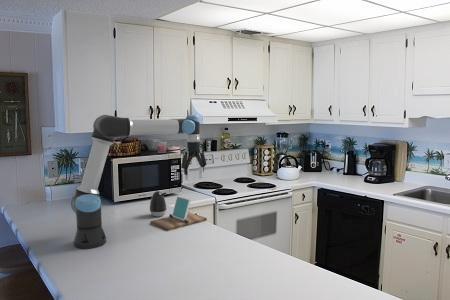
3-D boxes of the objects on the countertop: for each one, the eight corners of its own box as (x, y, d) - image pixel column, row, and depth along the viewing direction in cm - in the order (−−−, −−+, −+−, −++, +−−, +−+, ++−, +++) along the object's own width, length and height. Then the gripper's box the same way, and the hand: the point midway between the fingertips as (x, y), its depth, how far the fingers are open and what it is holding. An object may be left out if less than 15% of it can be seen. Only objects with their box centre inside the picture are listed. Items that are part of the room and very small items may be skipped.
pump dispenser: (165, 217, 238) (164, 193, 236) (148, 217, 238) (147, 193, 236) (168, 213, 248) (167, 189, 246) (151, 213, 248) (150, 189, 246)
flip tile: (185, 220, 224) (184, 220, 224) (173, 216, 233) (171, 215, 232) (191, 199, 226) (189, 199, 225) (178, 196, 235) (177, 196, 234)
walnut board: (168, 230, 213) (167, 225, 213) (150, 223, 226) (150, 218, 226) (206, 220, 231) (206, 215, 231) (188, 214, 244) (188, 209, 244)
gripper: (181, 143, 221) (182, 182, 224) (212, 140, 236) (212, 177, 238) (174, 142, 226) (175, 180, 229) (204, 139, 241) (204, 175, 244)
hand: (194, 178), depth 234 cm, fingers open, 10 cm apart
